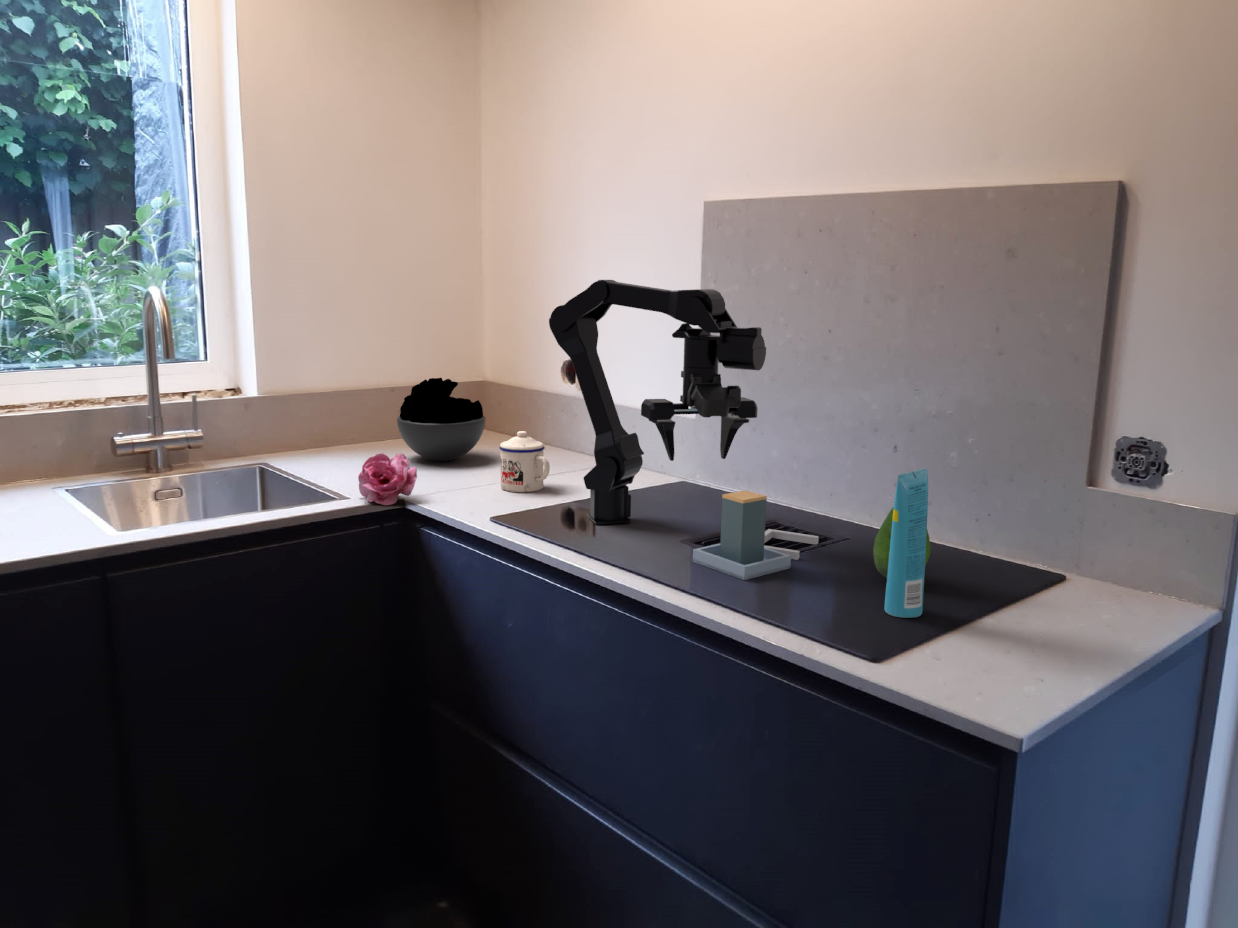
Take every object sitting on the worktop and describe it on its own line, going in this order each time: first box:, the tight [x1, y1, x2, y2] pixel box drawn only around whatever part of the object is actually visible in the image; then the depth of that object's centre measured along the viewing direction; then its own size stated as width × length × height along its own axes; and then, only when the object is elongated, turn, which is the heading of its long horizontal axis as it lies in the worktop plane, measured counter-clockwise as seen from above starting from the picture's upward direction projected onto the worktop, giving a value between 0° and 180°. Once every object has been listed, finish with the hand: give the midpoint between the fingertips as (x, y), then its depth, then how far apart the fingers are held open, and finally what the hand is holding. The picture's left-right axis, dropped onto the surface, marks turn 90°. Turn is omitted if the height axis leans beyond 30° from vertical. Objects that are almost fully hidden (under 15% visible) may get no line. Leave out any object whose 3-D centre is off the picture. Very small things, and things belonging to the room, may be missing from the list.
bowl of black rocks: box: [396, 377, 486, 462], centre depth 220 cm, size 20×20×19 cm
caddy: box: [719, 489, 768, 565], centre depth 145 cm, size 4×5×10 cm
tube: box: [883, 467, 929, 619], centre depth 125 cm, size 7×5×19 cm, turn 140°
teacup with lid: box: [499, 430, 551, 493], centre depth 193 cm, size 12×9×12 cm
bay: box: [764, 528, 819, 561], centre depth 156 cm, size 9×11×1 cm
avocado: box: [872, 506, 931, 579], centre depth 139 cm, size 8×8×12 cm
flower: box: [357, 452, 418, 506], centre depth 183 cm, size 11×10×10 cm
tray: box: [692, 542, 792, 581], centre depth 146 cm, size 11×10×2 cm
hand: (697, 459), depth 161 cm, fingers open, 9 cm apart
